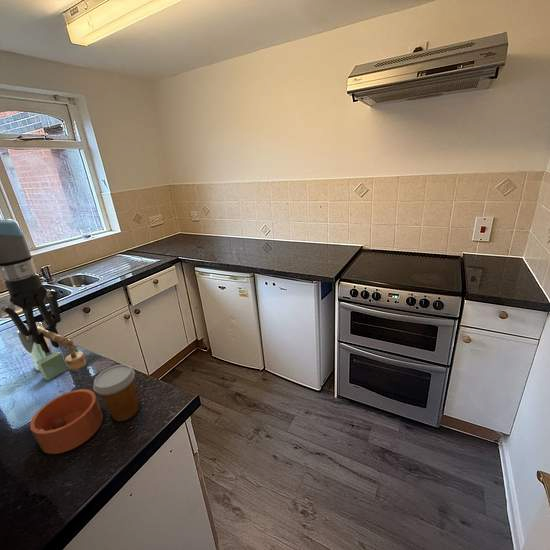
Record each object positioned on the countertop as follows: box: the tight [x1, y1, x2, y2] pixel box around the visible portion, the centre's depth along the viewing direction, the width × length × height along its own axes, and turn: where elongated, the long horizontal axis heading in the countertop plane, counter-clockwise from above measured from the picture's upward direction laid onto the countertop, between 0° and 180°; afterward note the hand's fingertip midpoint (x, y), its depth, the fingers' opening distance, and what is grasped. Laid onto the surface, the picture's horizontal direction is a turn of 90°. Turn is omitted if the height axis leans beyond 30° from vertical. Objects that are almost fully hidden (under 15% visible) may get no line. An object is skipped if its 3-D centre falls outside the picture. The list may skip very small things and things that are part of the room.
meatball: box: [52, 418, 66, 430], centre depth 74 cm, size 3×3×3 cm
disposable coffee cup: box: [92, 364, 140, 422], centre depth 77 cm, size 10×10×12 cm
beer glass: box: [16, 321, 53, 371], centre depth 100 cm, size 7×7×15 cm
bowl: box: [29, 388, 104, 455], centre depth 74 cm, size 14×14×6 cm
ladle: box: [37, 326, 87, 371], centre depth 88 cm, size 24×4×8 cm, turn 61°
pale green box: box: [36, 350, 69, 382], centre depth 96 cm, size 3×6×6 cm, turn 151°
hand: (51, 348), depth 90 cm, fingers closed on ladle, 2 cm apart
